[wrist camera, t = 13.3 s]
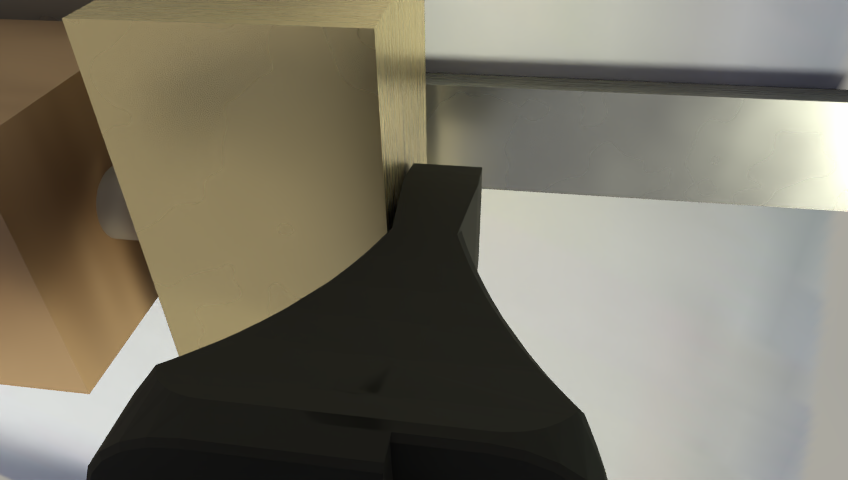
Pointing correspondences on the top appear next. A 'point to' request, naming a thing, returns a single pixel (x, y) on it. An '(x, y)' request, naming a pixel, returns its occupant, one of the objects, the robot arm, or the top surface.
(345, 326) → the robot arm
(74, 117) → the housing block
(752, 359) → the top surface
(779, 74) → the top surface
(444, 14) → the top surface
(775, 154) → the press bed
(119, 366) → the top surface
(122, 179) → the block
